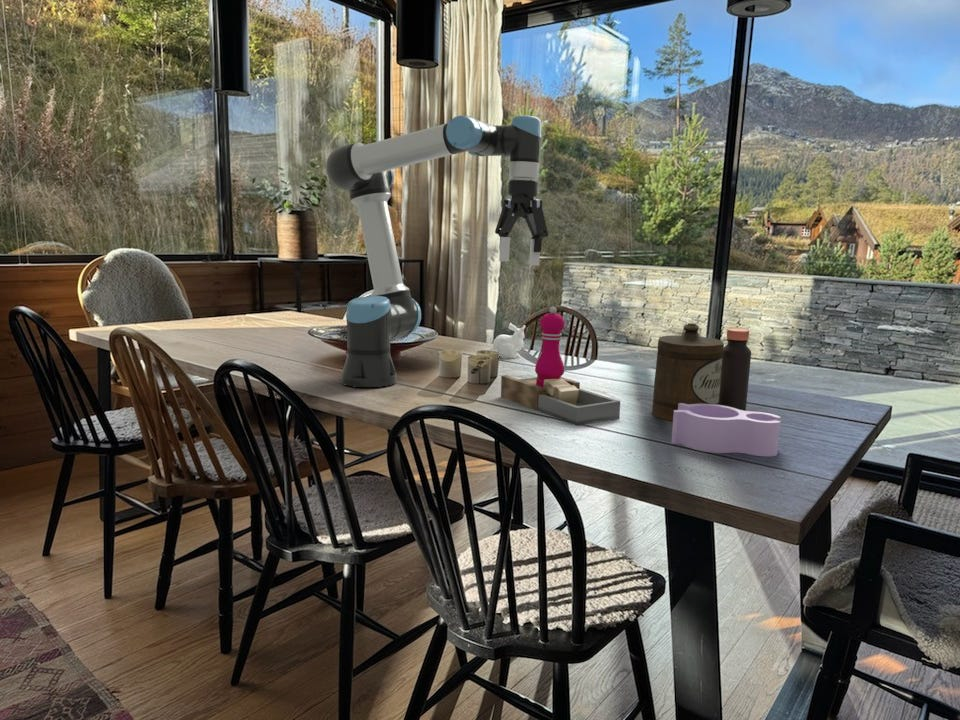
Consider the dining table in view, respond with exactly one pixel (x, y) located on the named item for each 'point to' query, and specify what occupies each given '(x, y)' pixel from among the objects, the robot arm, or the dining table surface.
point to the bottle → (735, 370)
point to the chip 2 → (567, 394)
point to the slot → (526, 390)
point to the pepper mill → (550, 348)
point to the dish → (581, 408)
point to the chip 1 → (553, 385)
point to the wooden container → (686, 371)
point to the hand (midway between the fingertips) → (518, 263)
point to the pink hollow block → (725, 429)
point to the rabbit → (509, 343)
